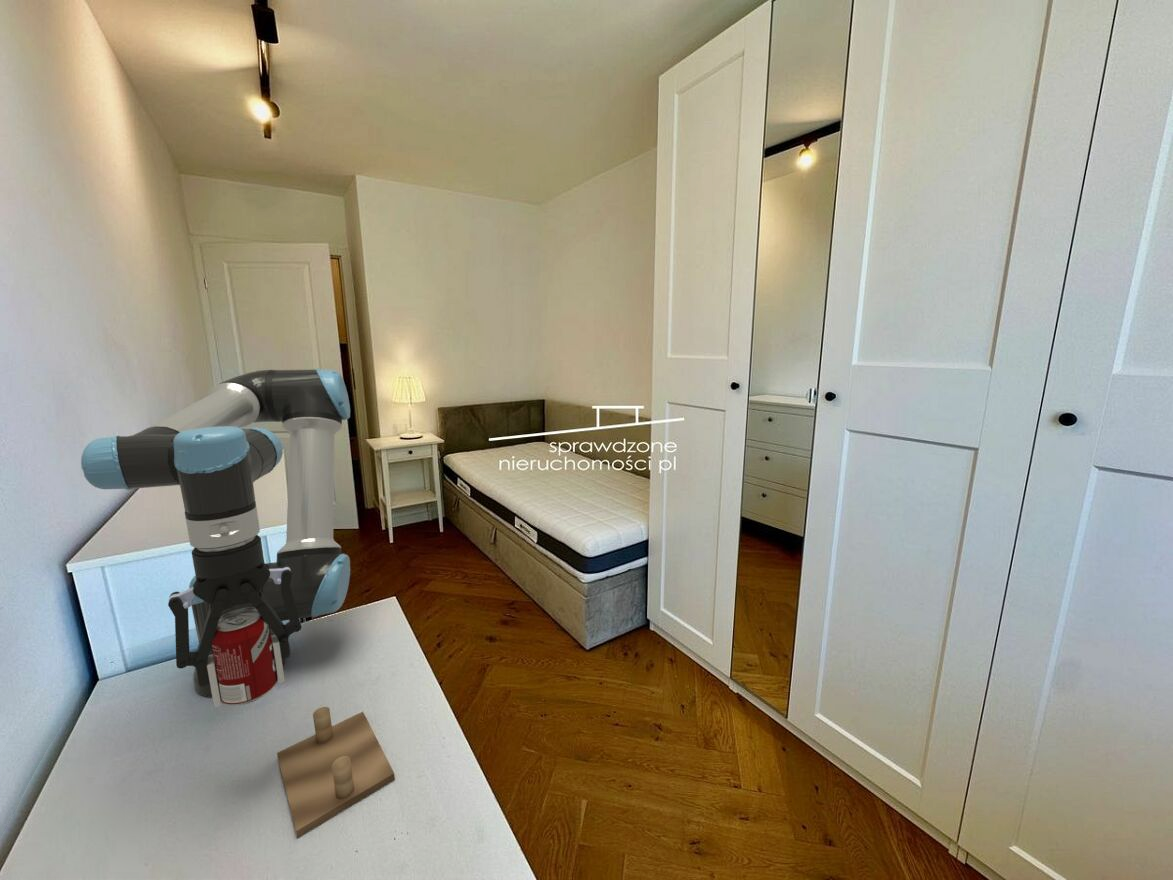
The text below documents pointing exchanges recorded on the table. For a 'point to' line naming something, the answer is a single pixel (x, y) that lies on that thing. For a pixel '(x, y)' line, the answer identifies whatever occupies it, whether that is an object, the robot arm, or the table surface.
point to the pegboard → (332, 769)
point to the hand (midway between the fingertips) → (250, 688)
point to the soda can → (243, 657)
